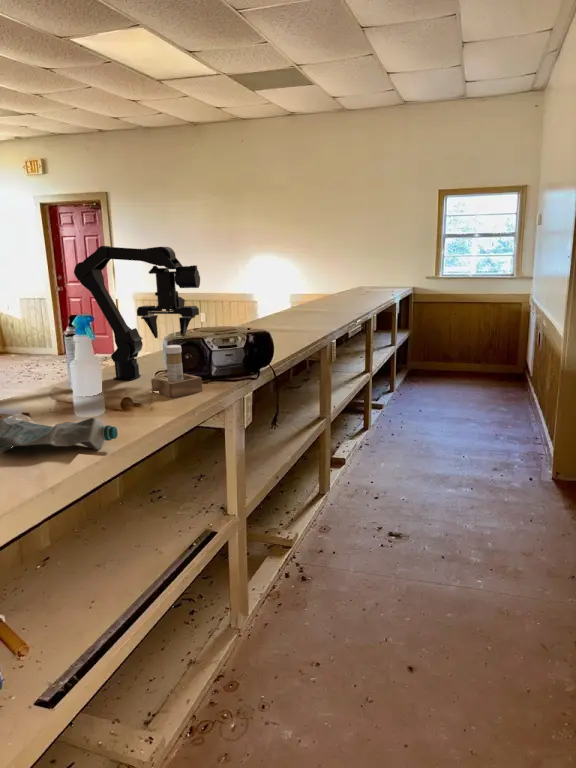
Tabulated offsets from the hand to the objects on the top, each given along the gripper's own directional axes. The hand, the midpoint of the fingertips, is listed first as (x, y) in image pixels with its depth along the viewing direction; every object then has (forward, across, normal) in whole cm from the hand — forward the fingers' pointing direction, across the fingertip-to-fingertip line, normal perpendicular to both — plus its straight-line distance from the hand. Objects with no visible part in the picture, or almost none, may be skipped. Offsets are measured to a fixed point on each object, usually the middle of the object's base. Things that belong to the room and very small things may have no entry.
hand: (169, 338), depth 175 cm
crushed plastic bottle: (+13, -5, +65) cm, 66 cm away
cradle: (+13, -9, +15) cm, 22 cm away
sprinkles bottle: (+13, -8, +15) cm, 22 cm away
